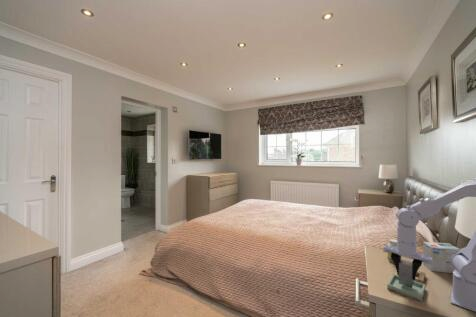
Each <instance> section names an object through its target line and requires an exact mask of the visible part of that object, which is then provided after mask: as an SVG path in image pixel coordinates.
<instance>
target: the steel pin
mask: <svg viewBox="0 0 476 317" xmlns="http://www.w3.org/2000/svg"><path fill="white" fill-rule="evenodd" d="M412 262H413V261H409V260H405V259H402V258H401V260H400V262H399V284H402V285H404V286H407V287H410V288H412V287H413V285H414V280H413V279H412V273H413V267H412Z"/></svg>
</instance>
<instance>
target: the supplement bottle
mask: <svg viewBox="0 0 476 317" xmlns="http://www.w3.org/2000/svg"><path fill="white" fill-rule="evenodd" d="M387 246H388V247H394V248H397V239H394V238H390V239H389V243H388V244H387ZM386 253H387V256H386V257H387V258H386V259H387V260H388V261H389V262H391V263H394V262H393V260H392V259H391V253H388V252H386Z"/></svg>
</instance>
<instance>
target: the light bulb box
mask: <svg viewBox="0 0 476 317" xmlns="http://www.w3.org/2000/svg"><path fill="white" fill-rule="evenodd" d="M422 249H423V250H422V255H424V256H427V257H431V258H432V265H430V264H428V263H425V262H422V265H424V266H425V267H426V268H427V269H429V270H430V271H431V272H439V273H440V272H441V273H449V274H450V273H451V274H453V271H454V270H455V267H454V266H453V265H452V263H451V257H452V256H453V255H455V254H457V253H458V252H459V251H460V249H461V248H459V247H456V246H455V245H453V244H452V243H447V242H446V243H445V242H433V241H432V242H430V241H423V242H422Z"/></svg>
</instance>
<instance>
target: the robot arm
mask: <svg viewBox="0 0 476 317" xmlns="http://www.w3.org/2000/svg"><path fill="white" fill-rule="evenodd" d="M465 198H476V177H474V178H473V179H469V180H466V181H464V182H463V183H461V184H460V185H457V186H455V187H454V188H452V189H450V190H448V191H445V192H444V193H442V194H440V195H438V196H437V197H434V198H429V197H426V198H422V197H421V198H419V199H418V200H419V201H418V202H416V203H415V202H414V203H413V204H410V205H406V206H405V207H401V208H400V209H398V210H397V212H396V213H395V217H396V219H397V227H396V230H397V233H396V234H397V235H396V236H397V237H396V240H397V248H394V247H388V245H384V246H383V247H382V248H383V253H387V252H388V253H391V259H392V260H393V262H392V263H393V265H394V266H395V270H396V275H399V262H400V260H401V259H402V257H403V258H406V259H410V260H411V259H412V261H411V262H412V267H413V273H412V279H413V280H415V277H417V275H416V273H417V271H419V269H420V268H421V266H422V265H423V262H425V263H428V264H430V265H432V258H431V257H427V256H424V255H423V253H422V254H421V253H419V252H417V225H418V224H419V221H423V220H424V219H427V218H429V217H432V216H434V215H436V214H439V213H440V212H441V208H442V207H445V206H447V205H449V204H452V203H455V202H457V201H460V200H462V199H465ZM459 249H460V251H459V252H458V253H457V254H455V255H453V256H452V257H451V263H452V265H453V266H454V267H455V270H454V271H453V273H452V291H450V292H451V295H450V303H451V304H453V305H455V306H458V307H462V308H463V309H466V310H469V311H473V312H475V313H476V230H475V231H474V233H473V234H472V236H471V238H470V240H469V242H468V243H467V245H466V246H465V247H462V248H459Z"/></svg>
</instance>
